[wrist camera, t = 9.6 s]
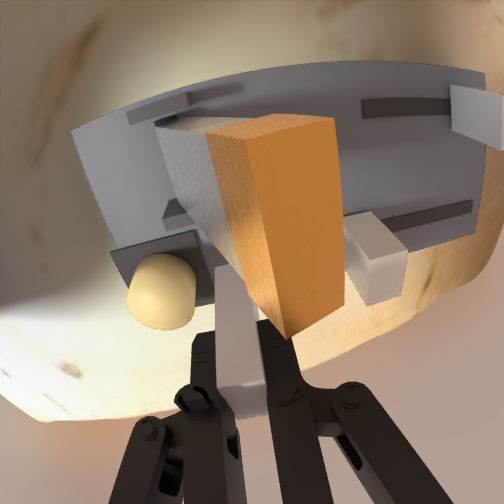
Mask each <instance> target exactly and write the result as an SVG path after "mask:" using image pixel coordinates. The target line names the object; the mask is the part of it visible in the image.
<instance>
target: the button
mask: <svg viewBox="0 0 504 504" xmlns="http://www.w3.org/2000/svg"><path fill="white" fill-rule="evenodd" d="M195 294H196V276H195V273H194V271H193V269H192V268H191V267H190V265H189V264H188V263H187V262H185V261H184V260H182V259H181V258H179V257H177V256H174V255H171V254H163V253H160V254H153V255H150V256H148V257H146V258H144V259H143V260H142V261H140V263H139V264H138V265H137V267H136V270H135V273H134V276H133V278H132V281H131V284H130V287H129V290H128V293H127V296H126V304H127V308H128V310H129V312H130V314H131V315H132V316H133V317H134V318H135V319H136V320H137V321H138V322H140V323H141V324H143V325H145V326H147V327H149V328H152V329H156V330H174V329H178V328H181V327H183V326H184V325H186V324H187V323H188V322H189V321H190V320H191V319H192V317H193V315H194V310H195Z"/></svg>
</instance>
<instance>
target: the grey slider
mask: <svg viewBox="0 0 504 504" xmlns="http://www.w3.org/2000/svg"><path fill="white" fill-rule="evenodd" d="M450 95H451V115H452V131H454V132H457V133H460V134H462V135H465V136H467V137H470V138H472V139H475V140H477V141H480V142H482V143H484V144H487V145H489V146H491V147H493V148H495V149H498V150H500V151H504V95H503V94H499V93H495V92H491V91H487V90H482V89H477V88H473V87H466V86H458V85H450Z"/></svg>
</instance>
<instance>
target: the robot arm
mask: <svg viewBox="0 0 504 504" xmlns="http://www.w3.org/2000/svg"><path fill="white" fill-rule="evenodd" d="M191 355H192V356H191V375H190V384H188V385H185V386H184V387H182V388H181V389H180V390H179V391H178V392H177V394H176V395H175V399H174V403H175V404H176V405H177V406H178V407H179V408H180V409H181V411H180V412H178V413H176V414H174V415H171V416H168V417H166V418H163V419H161V420H160V419H159V418H157V417H155V416H146V417H144V418H141V419H140V420H139V421H138V422H137V423H136V424H135V426H134V428H133V430H132V434H131V436H130V439H129V442H128V445H127V448H126V451H125V454H124V457H123V459H122V462H121V466H120V469H119V472H118V475H117V478H116V481H115V484H114V487H113V490H112V494H111V497H110V500H109V504H182V501H183V497H184V504H247V498H246V490H245V482H244V474H243V464H242V455H241V446H240V436H239V431H238V429H237V427H236V424H235V417H236V418H237V420H241V419H248V418H254V417H259V416H265V415H269V420H270V427H271V433H272V439H273V446H274V452H275V458H276V464H277V470H278V476H279V483H280V489H281V495H282V501H283V504H334V502H333V498H332V494H331V489H330V485H329V482H328V477H327V472H326V468H325V464H324V461H323V456H322V452H321V448H320V443H319V440H318V436H322V437H333V438H334V440H335V441H336V443H337V445H338V446H339V448H340V450H341V451H342V453H343V455H344V456H345V458H346V459H347V461H348V463H349V464H350V466H351V467H352V469H353V470H354V472H355V474H356V475H357V477H358V479H359V480H360V482H361V483H362V485H363V486H364V488H365V490H366V491H367V493H368V494H369V496H370V498H371V499H372V501H373V502H374V504H453V502H452V501H451V499H450V498H449V497H448V495H447V494H446V492H445V491H444V490H443V488H442V487H441V485H440V484H439V483H438V482H437V480H436V479H435V477H434V476H433V475H432V473H431V472H430V470H429V469H428V468H427V466H426V465H425V464H424V462H423V461H422V460H421V458H420V457H419V455H418V454H417V453H416V451H415V450H414V449H413V447H412V446H411V444H410V443H409V442H408V440H407V439H406V438H405V436H404V435H403V434H402V432H401V431H400V430H399V428H398V427H397V426H396V424H395V423H394V422H393V420H392V419H391V418H390V416H389V415H388V414H387V412H386V411H385V410H384V408H383V407H382V406H381V404H380V403H379V402H378V400H377V399H376V398H375V396H374V395H373V394H372V392H371V391H370V390H369V389H368V388H367V387H366V386H365V385H364V384H362V383H359V382H346V383H344V384H341V385H340V386H339V387H337V388H336V389H322V388H315V387H313V386H311V385H309V384H308V383H306V382H305V380H304V379H303V378H302V375H301V372H300V368H299V364H298V361H297V357H296V353H295V349H294V345H293V342H292V338H291V337H290V338H288V339H287V340H286V339H285V338H284V337H283V335H282V334H281V333H280V332H279V331H278V329H277V328H276V327H275V326H274V325H273V323H272V322H271V321H270V320H269V319H265V320H260V319H259V314H258V308H257V304H256V303H255V302H254V301H253V299H252V298H251V297H250V296H249V295H248V291H247V288H246V284H245V281H244V280H243V279H242V278H241V276H240V275H239V274H238V273H237V272H236V271H235V269H234V268H233V267H232V266H231V265H230V264H226V265H222V266H218V267H215V330H214V331H209V332H204V333H198V334H197V335H196V337H195V339H194V341H193V343H192V351H191Z"/></svg>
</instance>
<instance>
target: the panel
mask: <svg viewBox="0 0 504 504" xmlns="http://www.w3.org/2000/svg"><path fill="white" fill-rule="evenodd" d="M450 85H458V86H466V87H473V88H477V89H482V90H486V88H485V75H484V73H480V72H475V71H470V70H465V69H459V68H453V67H446V66H439V65H430V64H421V63H409V62H391V61H340V62H322V63H310V64H299V65H291V66H283V67H275V68H269V69H262V70H256V71H251V72H245V73H240V74H235V75H230V76H226V77H221V78H217V79H213V80H208V81H204V82H201V83H197V84H193V85H189V86H186V87H182V88H179V89H176V90H172V91H169V92H166V93H163V94H160V95H157V96H154V97H151V98H148V99H145V100H142V101H139V102H137V103H134V104H131V105H129V106H126V107H123V108H121V109H118V110H116V111H114V112H111V113H109V114H106V115H104V116H102V117H99V118H97V119H95V120H93V121H91V122H88V123H86V124H84V125H82V126H80V127H78V128H76V129H74V130H72V131H71V134H72V137H73V140H74V143H75V146H76V149H77V152H78V154H79V157H80V160H81V163H82V166H83V168H84V171H85V174H86V176H87V179H88V181H89V184H90V187H91V189H92V192H93V194H94V196H95V199H96V201H97V204H98V206H99V208H100V211H101V213H102V215H103V218H104V220H105V222H106V224H107V227H108V229H109V231H110V233H111V235H112V238H113V240H114V242H115V244H116V246H117V248H118V249H117V250H113V251H111V252H110V255H111V257H112V259H113V261H114V263H115V264H116V266H117V268H118V270H119V272H120V274H121V276H122V278H123V280H124V281H125V283H126V285H127V287H128V289H129V287H130V284H131V281H132V278H133V276H134V273H135V270H136V267H137V265H138V264H139V263H140V261H142V260H143V259H144V258H146V257H148V256H150V255H153V254H160V253H163V254H171V255H174V256H177V257H179V258H181V259H182V260H184V261H185V262H187V263H188V264H189V265H190V267H191V268H192V269H193V271H194V273H195V276H196V294H195V307H198V306H203V305H208V304H213V303H215V267H218V266H222V265H226V264H230V263H229V262H228V261H227V260H226V259H225V258H224V256H223V255H222V254H221V253H220V252H219V250H218V249H217V248H216V247H215V246H214V244H213V243H212V242H211V241H210V240H209V238H208V237H207V236H206V235H205V234H204V232H203V231H202V230H201V229H200V228H199V226H198V225H197V224H196V223H195V222H194V220H193V219H192V218H191V217H190V216H189V214H188V213H187V212H186V211H185V209H184V208H183V207H182V206H181V205H180V203H179V202H178V200H177V197H176V194H175V191H174V188H173V185H172V182H171V179H170V176H169V172H168V169H167V166H166V163H165V160H164V156H163V153H162V150H161V147H160V143H159V140H158V137H157V133H156V130H155V124H154V121H156V120H158V119H161V118H164V117H167V116H171V115H174V114H177V117H178V119H179V118H183V117H231V118H258V117H263V116H267V115H271V114H275V113H276V114H295V115H308V116H320V117H330V118H334V122H335V130H336V138H337V147H338V157H339V167H340V179H341V192H342V208H343V217H346V216H351V215H356V214H360V213H365V212H369V211H371V212H372V213H373V214H374V215H375V216H376V217H377V218H378V219H379V220H380V221H381V222H382V223H383V224H384V225H385V226H386V227H387V228H388V229H389V230H390V231H391V232H392V233H393V234H394V235H395V236H396V237H397V239H398V240H399V241H400V242H401V243H402V244H403V245H404V246H405V247H406V248H407V249H408V253H410V252H413V251H417V250H420V249H424V248H427V247H430V246H434V245H437V244H440V243H444V242H447V241H450V240H453V239H457V238H460V237H463V236H466V235H469V234H473V233H474V232H475V228H476V223H477V217H478V212H479V206H480V199H481V192H482V185H483V176H484V166H485V153H486V144H484V143H482V142H480V141H477V140H475V139H472V138H470V137H467V136H465V135H462V134H460V133H457V132H454V131H452V115H451V95H450ZM344 270H345V269H344Z"/></svg>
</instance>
